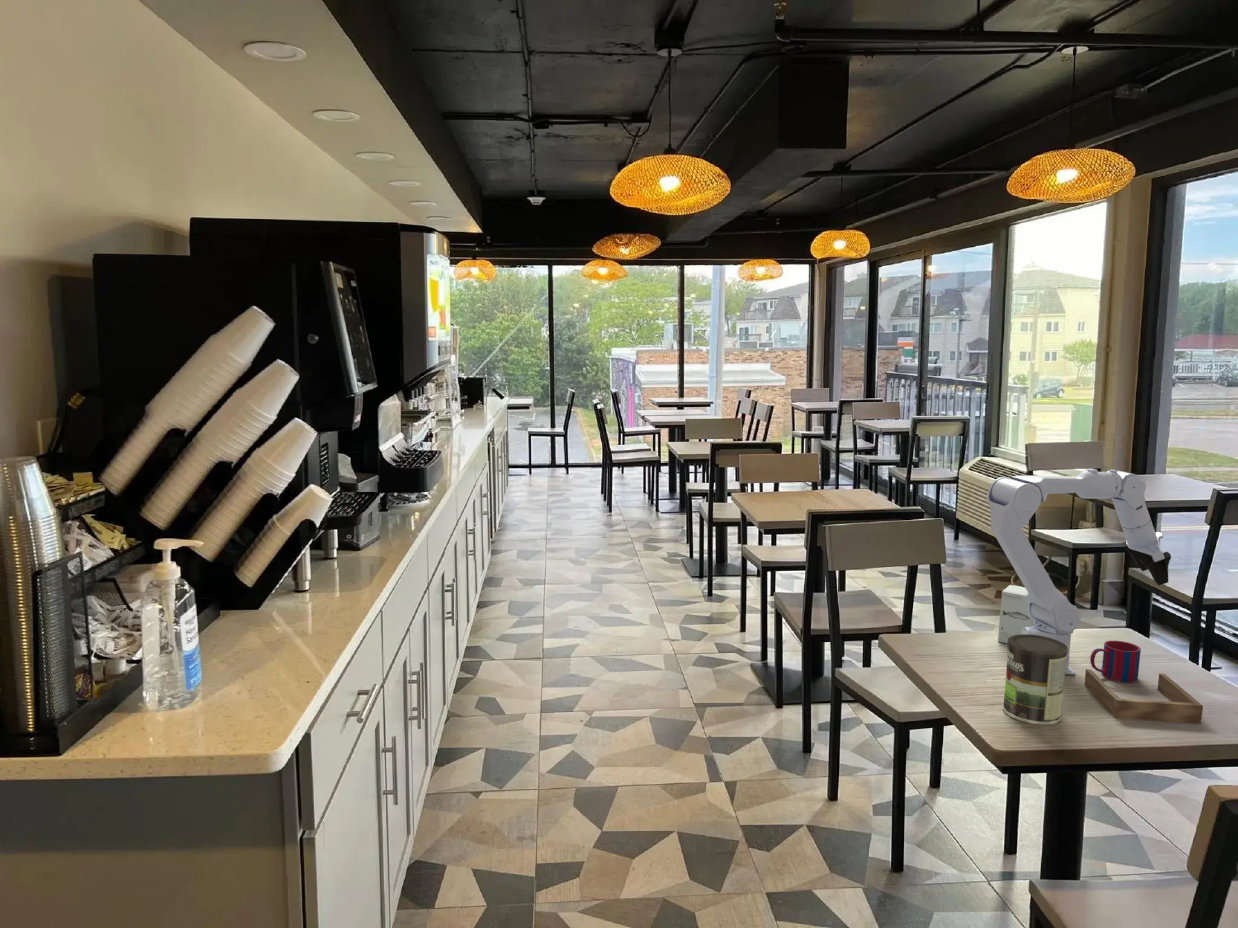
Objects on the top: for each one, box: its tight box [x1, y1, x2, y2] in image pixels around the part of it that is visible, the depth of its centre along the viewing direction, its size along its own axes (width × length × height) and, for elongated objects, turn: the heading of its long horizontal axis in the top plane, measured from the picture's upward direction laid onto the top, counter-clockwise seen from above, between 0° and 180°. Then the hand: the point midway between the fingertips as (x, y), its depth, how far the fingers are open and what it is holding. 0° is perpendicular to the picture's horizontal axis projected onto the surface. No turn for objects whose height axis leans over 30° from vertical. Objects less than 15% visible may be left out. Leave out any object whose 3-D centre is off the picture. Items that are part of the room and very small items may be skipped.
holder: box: [1084, 668, 1204, 724], centre depth 170 cm, size 15×16×4 cm
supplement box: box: [997, 584, 1034, 644], centre depth 203 cm, size 7×7×13 cm
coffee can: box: [1002, 634, 1068, 726], centre depth 164 cm, size 10×10×14 cm
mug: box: [1089, 640, 1142, 684], centre depth 183 cm, size 7×10×7 cm
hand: (1154, 576), depth 189 cm, fingers open, 7 cm apart
